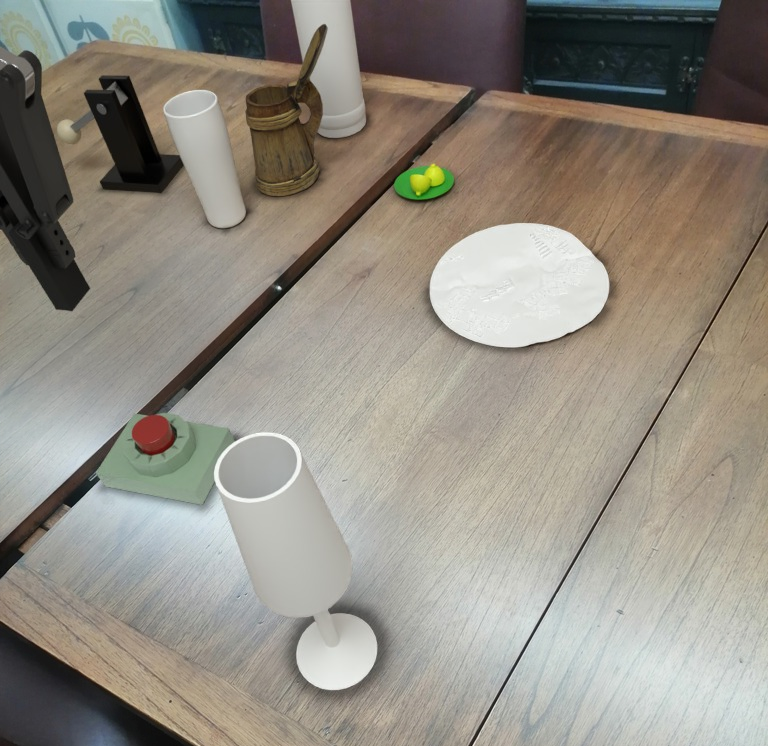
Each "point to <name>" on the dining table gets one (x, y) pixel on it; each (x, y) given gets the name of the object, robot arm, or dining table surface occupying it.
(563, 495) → the dining table surface
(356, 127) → the bottle
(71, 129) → the lever
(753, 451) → the dining table surface
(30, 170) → the robot arm
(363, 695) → the dining table surface
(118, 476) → the control block
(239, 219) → the drinking glass
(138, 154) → the lever bracket
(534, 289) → the plaque
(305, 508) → the champagne flute
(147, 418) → the button
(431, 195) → the lemon
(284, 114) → the wooden mug
